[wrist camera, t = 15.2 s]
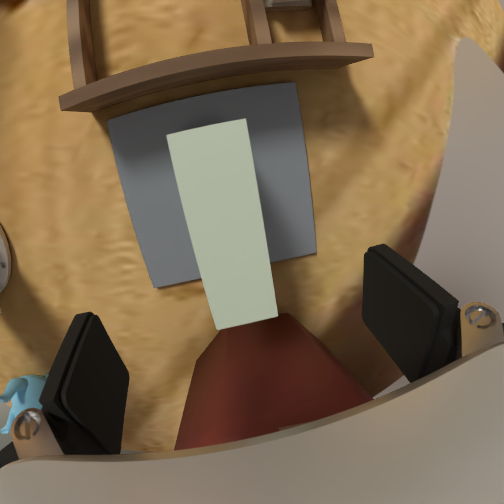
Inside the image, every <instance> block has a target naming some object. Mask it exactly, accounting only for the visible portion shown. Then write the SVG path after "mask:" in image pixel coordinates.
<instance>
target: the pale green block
mask: <svg viewBox="0 0 504 504" xmlns="http://www.w3.org/2000/svg"><path fill="white" fill-rule="evenodd" d="M166 136H167V141H168V146H169V150H170V155H171V159H172V164H173V168H174V173H175V177H176V181H177V186H178V190H179V194H180V198H181V202H182V206H183V210H184V214H185V218H186V222H187V226H188V230H189V234H190V238H191V242H192V245H193V249H194V253H195V257H196V260H197V264H198V267H199V271H200V275H201V278H202V282H203V285H204V289H205V292H206V296H207V299H208V302H209V306H210V309H211V313H212V316H213V319H214V322H215V326H216V329H217V330H220V329H225V328H229V327H234V326H238V325H243V324H247V323H252V322H256V321H260V320H265V319H269V318H273V317H277V316H278V312H277V305H276V299H275V292H274V286H273V279H272V273H271V266H270V260H269V254H268V247H267V241H266V235H265V229H264V222H263V216H262V210H261V204H260V198H259V192H258V186H257V180H256V174H255V168H254V163H253V157H252V151H251V145H250V139H249V134H248V128H247V122H246V119H240V120H234V121H228V122H223V123H218V124H213V125H208V126H203V127H199V128H194V129H190V130H185V131H181V132H177V133H173V134H169V135H166Z"/></svg>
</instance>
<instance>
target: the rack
mask: <svg viewBox="0 0 504 504" xmlns="http://www.w3.org/2000/svg"><path fill="white" fill-rule="evenodd" d="M241 3H242V8H243V13H244V18H245V23H246V28H247V33H248V38H249V44H250V45H248V46H240V47H232V48H225V49H218V50H212V51H206V52H201V53H195V54H190V55H186V56H181V57H176V58H172V59H168V60H164V61H160V62H156V63H152V64H148V65H145V66H141V67H138V68H134V69H131V70H128V71H125V72H121V73H118V74H115V75H112V76H109V77H107V78H104V79H101V80H97V73H96V66H95V59H94V50H93V41H92V31H91V19H90V4H89V0H67V26H68V41H69V52H70V62H71V70H72V78H73V85H74V90H73V91H70V92H68V93H66V94H63V95H61V96H59V103H60V109H61V111H77V112H94V111H97V110H99V109H102V108H105V107H108V106H111V105H114V104H117V103H120V102H123V101H126V100H130V99H133V98H136V97H140V96H143V95H147V94H151V93H154V92H158V91H162V90H166V89H170V88H174V87H179V86H183V85H188V84H192V83H197V82H202V81H207V80H213V79H218V78H224V77H231V76H237V75H244V74H252V73H261V72H270V71H281V70H294V69H312V68H340V67H343V66H346V65H349V64H352V63H356V62H359V61H362V60H365V59H369V58H372V57H374V53H373V48H372V44H366V43H351V42H345V37H344V32H343V28H342V23H341V19H340V15H339V11H338V7H337V3H336V0H314V3H315V7H316V11H317V15H318V20H319V24H320V29H321V33H322V38H323V42H285V43H272V41H271V36H270V31H269V26H268V21H267V17H266V12H265V7H264V3H263V0H241Z"/></svg>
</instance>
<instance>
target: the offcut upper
mask: <svg viewBox="0 0 504 504" xmlns="http://www.w3.org/2000/svg"><path fill="white" fill-rule="evenodd" d="M269 1H270V3H271V4H273V3H281V2H290V1H300V0H269Z"/></svg>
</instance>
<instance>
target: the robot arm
mask: <svg viewBox="0 0 504 504" xmlns="http://www.w3.org/2000/svg"><path fill="white" fill-rule="evenodd" d="M10 274H11V254H10V249H9V245H8V242H7V239H6V236H5V234H4V232H3V230H2V228H1V226H0V292H1V291H2V290H3V289H4V288H5V286H6V285H7V284H8V281H9V279H10ZM458 302H459V301H458V300H457V299H456V298H454V297H453V296H452V295H451V294H449V293H448V292H447V291H446V290H445V289H443V288H442V287H441V286H440V285H438V284H437V283H436V282H435V281H433V280H432V279H431V278H430V277H428V276H427V275H426V274H424V273H423V272H422V271H420V270H419V269H418V268H416V267H415V266H414V265H413V264H411V263H410V262H409V261H407V260H406V259H405V258H403V257H402V256H401V255H399V254H398V253H397V252H395V251H394V250H392V249H391V248H390V247H388V246H387V245H385V244H380V245H376V246H372V247H369V248H368V251H367V252H366V253H365V254H364V278H363V304H362V318H363V321H364V323H365V324H366V326H367V327H368V328H369V329H370V331H371V332H372V333H373V335H374V336H375V337H376V338H377V340H378V341H379V342H380V344H381V345H382V346H383V347H384V349H385V350H386V351H387V353H388V354H389V355H390V357H391V358H392V359H393V361H394V362H395V363H396V364H397V366H398V367H399V368H400V370H401V371H402V372H403V374H404V375H405V376H406V378H407V379H408V380H409V382H410V384H408V385H406V386H404V387H402V388H400V389H397V390H395V391H393V392H390V393H388V394H386V395H384V396H381V397H379V398H376V399H374V400H372V401H369V402H367V403H364V404H362V405H359V406H356V407H354V408H351V409H348V410H346V411H343V412H340V413H337V414H334V415H331V416H328V417H325V418H322V419H319V420H316V421H313V422H310V423H307V424H303V425H300V426H296V427H293V428H289V429H286V430H282V431H278V432H274V433H270V434H266V435H262V436H258V437H253V438H249V439H244V440H239V441H234V442H229V443H224V444H218V445H212V446H206V447H199V448H192V449H184V450H176V451H166V452H155V453H141V454H120V450H121V440H122V431H123V422H124V414H125V406H126V399H127V392H128V385H129V373H128V370H127V368H126V366H125V365H124V363H123V361H122V359H121V358H120V356H119V354H118V352H117V351H116V349H115V347H114V345H113V343H112V341H111V340H110V338H109V336H108V334H107V332H106V330H105V328H104V326H103V324H102V322H101V320H100V318H99V317H98V316H97V315H94V314H93V313H92V312H86V313H81V314H77V315H75V317H74V319H73V321H72V323H71V325H70V327H69V329H68V332H67V334H66V336H65V338H64V340H63V342H62V345H61V347H60V349H59V351H58V354H57V356H56V358H55V360H54V363H53V365H52V368H51V370H50V372H49V375H48V377H47V380H46V382H45V385H44V388H43V390H42V393H41V395H40V398H39V402H40V404H41V405H42V408H41V410H39V409H37V408H28V409H25V410H24V411H22V412H21V413H19V414H18V415H17V416H16V418H15V419H14V421H13V423H12V425H11V437H12V440H13V441H12V442H11V443H10V444H9V445H7V446H6V447H5V448H3V449H2V450H1V451H0V504H504V323H502V322H501V318H500V315H499V313H498V312H497V311H496V310H495V309H494V308H493V307H491V306H490V305H487V304H485V303H480V302H472V303H468V304H466V305H465V306H463V308H462V309H461V310H460V309H459V308H458V307H457V306H458ZM1 313H2V309H1V307H0V314H1Z"/></svg>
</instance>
